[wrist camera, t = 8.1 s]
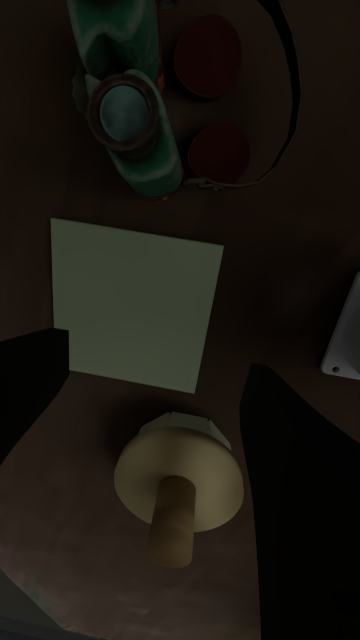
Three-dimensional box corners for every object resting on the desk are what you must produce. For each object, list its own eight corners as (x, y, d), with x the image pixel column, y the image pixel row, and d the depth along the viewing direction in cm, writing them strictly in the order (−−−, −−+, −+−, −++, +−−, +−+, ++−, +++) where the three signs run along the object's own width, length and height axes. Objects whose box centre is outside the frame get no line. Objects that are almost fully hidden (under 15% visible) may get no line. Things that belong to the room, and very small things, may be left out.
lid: (232, 421, 20) (240, 494, 15) (249, 516, 24) (259, 603, 18) (103, 431, 22) (68, 500, 17) (136, 519, 26) (115, 598, 20)
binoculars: (394, 141, 8) (63, 208, 9) (276, 184, 18) (127, 214, 18) (438, -438, 5) (-79, -259, 6) (266, 4, 15) (89, 47, 15)
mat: (223, 245, 19) (223, 246, 18) (194, 389, 23) (194, 393, 23) (55, 218, 19) (50, 218, 19) (58, 363, 24) (55, 367, 23)
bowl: (237, 424, 24) (240, 451, 21) (218, 490, 27) (219, 521, 24) (142, 405, 24) (133, 430, 22) (135, 472, 28) (126, 501, 25)
